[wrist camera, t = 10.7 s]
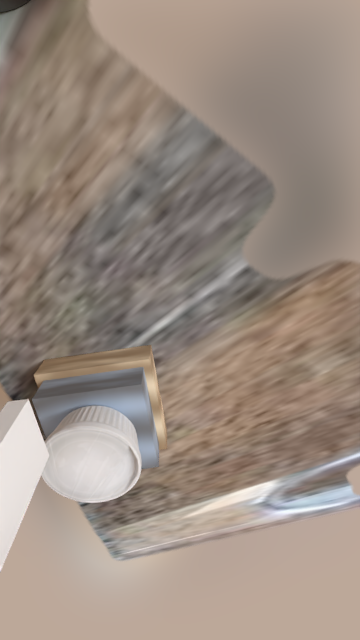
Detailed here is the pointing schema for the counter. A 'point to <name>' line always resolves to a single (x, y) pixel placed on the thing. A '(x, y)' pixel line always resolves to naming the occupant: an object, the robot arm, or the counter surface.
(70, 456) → the ramekin
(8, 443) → the robot arm
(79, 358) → the block tower
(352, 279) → the counter surface
